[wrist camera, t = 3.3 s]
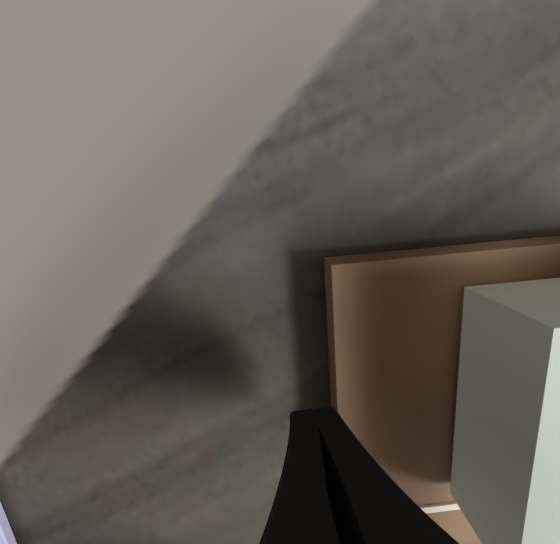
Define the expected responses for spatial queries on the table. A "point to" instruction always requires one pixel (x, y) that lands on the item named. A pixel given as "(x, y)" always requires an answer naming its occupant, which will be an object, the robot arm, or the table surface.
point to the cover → (509, 413)
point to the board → (414, 354)
